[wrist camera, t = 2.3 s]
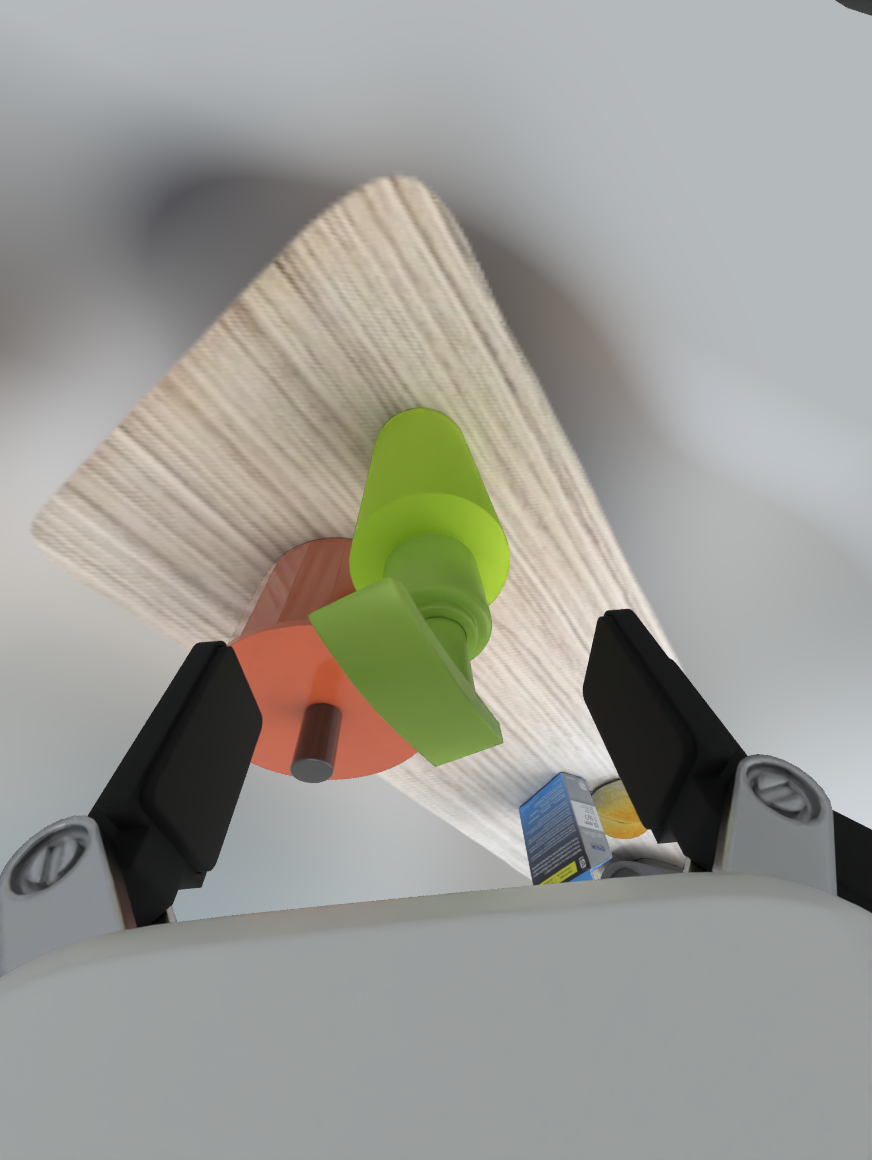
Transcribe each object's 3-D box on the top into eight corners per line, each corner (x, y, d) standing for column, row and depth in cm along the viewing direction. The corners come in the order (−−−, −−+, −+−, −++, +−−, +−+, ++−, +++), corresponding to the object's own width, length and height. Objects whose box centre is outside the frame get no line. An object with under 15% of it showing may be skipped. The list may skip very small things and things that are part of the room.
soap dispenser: (432, 370, 23) (496, 541, 7) (482, 475, 27) (603, 756, 10) (345, 422, 24) (215, 673, 8) (403, 515, 28) (397, 823, 11)
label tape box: (541, 814, 52) (573, 938, 42) (515, 807, 51) (541, 933, 41) (586, 778, 48) (634, 906, 38) (558, 770, 47) (600, 900, 37)
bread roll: (664, 774, 49) (683, 808, 45) (638, 813, 53) (653, 846, 50) (597, 774, 48) (612, 810, 44) (576, 814, 53) (588, 848, 49)
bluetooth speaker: (584, 865, 62) (612, 952, 53) (632, 838, 58) (670, 928, 49) (678, 891, 70) (715, 970, 61) (726, 869, 66) (772, 951, 57)
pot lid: (165, 621, 21) (112, 692, 17) (433, 602, 21) (438, 668, 17) (247, 772, 28) (222, 844, 25) (442, 756, 29) (448, 826, 25)
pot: (238, 543, 29) (174, 635, 21) (419, 531, 29) (424, 618, 21) (284, 671, 36) (249, 775, 28) (429, 660, 36) (435, 761, 28)
